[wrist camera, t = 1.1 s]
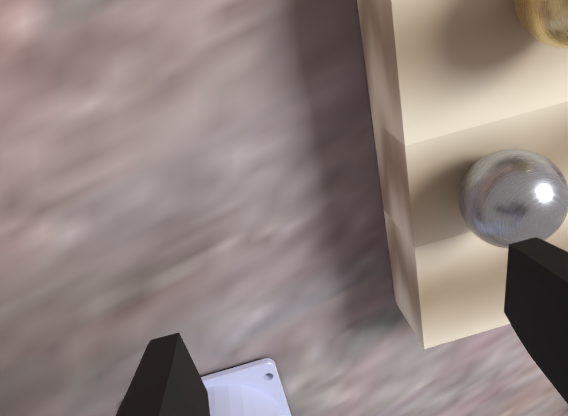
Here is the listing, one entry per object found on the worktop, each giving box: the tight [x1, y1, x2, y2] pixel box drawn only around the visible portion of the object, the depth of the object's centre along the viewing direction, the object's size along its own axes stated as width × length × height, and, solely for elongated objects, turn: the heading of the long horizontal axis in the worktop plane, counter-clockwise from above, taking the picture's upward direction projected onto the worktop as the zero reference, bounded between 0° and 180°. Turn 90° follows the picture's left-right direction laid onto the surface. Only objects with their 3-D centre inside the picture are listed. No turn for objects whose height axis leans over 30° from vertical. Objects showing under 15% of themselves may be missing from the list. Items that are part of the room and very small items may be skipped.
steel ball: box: [458, 149, 568, 248], centre depth 16 cm, size 4×4×4 cm
